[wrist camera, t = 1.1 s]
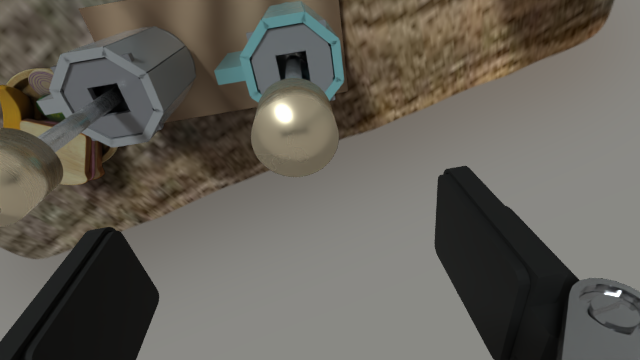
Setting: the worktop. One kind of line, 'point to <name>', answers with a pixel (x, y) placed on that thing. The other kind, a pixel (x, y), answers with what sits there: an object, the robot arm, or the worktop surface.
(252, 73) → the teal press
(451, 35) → the worktop surface
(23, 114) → the toy sandwich meal
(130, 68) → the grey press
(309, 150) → the beige knobbed plunger
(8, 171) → the beige knobbed rod
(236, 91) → the board
